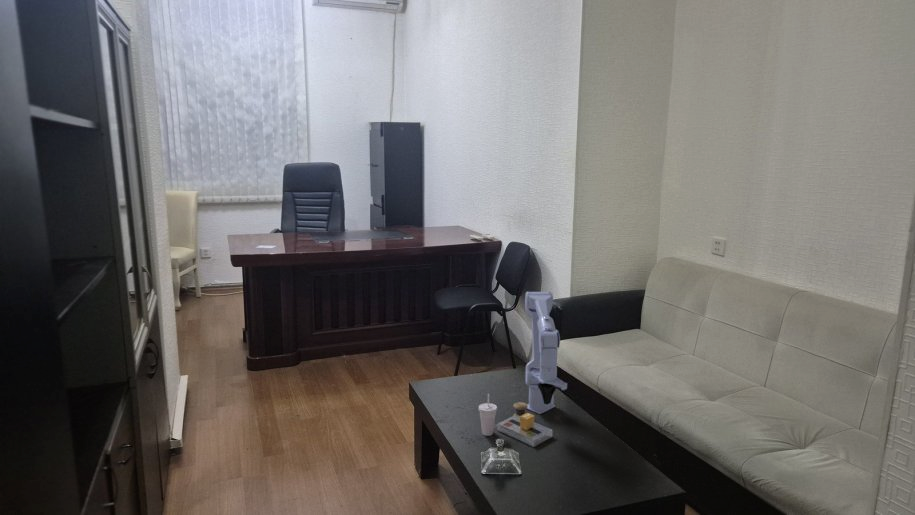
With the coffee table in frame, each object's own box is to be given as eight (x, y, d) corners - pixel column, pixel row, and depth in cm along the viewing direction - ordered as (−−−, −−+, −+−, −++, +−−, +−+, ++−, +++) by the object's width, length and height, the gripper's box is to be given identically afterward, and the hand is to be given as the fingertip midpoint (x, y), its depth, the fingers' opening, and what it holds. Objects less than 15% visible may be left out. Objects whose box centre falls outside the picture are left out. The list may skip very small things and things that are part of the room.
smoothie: (498, 430, 206) (499, 392, 203) (493, 439, 200) (494, 400, 197) (481, 427, 208) (481, 390, 205) (475, 435, 202) (476, 397, 199)
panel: (516, 420, 213) (516, 414, 213) (552, 436, 202) (552, 429, 201) (497, 430, 206) (497, 423, 206) (533, 447, 195) (534, 439, 194)
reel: (519, 412, 220) (519, 401, 219) (530, 417, 216) (530, 405, 215) (510, 417, 216) (510, 405, 215) (521, 421, 213) (521, 409, 212)
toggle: (527, 423, 205) (527, 412, 204) (534, 426, 203) (534, 415, 202) (519, 427, 202) (520, 415, 202) (526, 430, 200) (526, 418, 200)
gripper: (524, 362, 203) (523, 400, 206) (558, 374, 193) (557, 413, 196) (537, 357, 208) (536, 394, 211) (571, 369, 198) (569, 407, 200)
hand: (547, 403), depth 203 cm, fingers closed
